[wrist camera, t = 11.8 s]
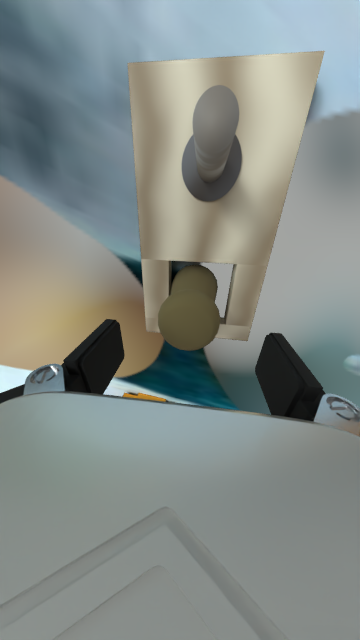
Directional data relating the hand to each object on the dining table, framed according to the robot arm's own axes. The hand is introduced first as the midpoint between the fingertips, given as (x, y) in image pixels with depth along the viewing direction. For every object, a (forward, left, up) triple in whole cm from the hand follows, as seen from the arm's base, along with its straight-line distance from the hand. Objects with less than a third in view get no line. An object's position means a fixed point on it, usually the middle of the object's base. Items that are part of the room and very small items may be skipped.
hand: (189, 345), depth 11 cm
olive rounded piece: (0, 0, -13) cm, 13 cm away
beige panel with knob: (0, +6, -13) cm, 14 cm away
